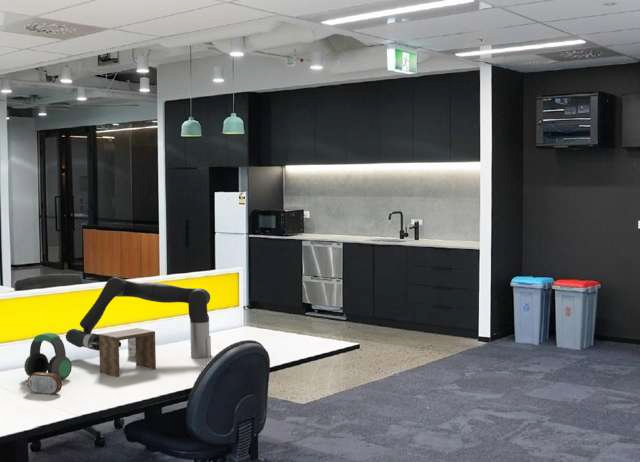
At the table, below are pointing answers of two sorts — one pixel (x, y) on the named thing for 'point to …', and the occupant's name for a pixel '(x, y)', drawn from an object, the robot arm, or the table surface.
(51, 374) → the tin
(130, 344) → the ink box
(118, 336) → the tunnel
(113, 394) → the table surface
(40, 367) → the headphones
